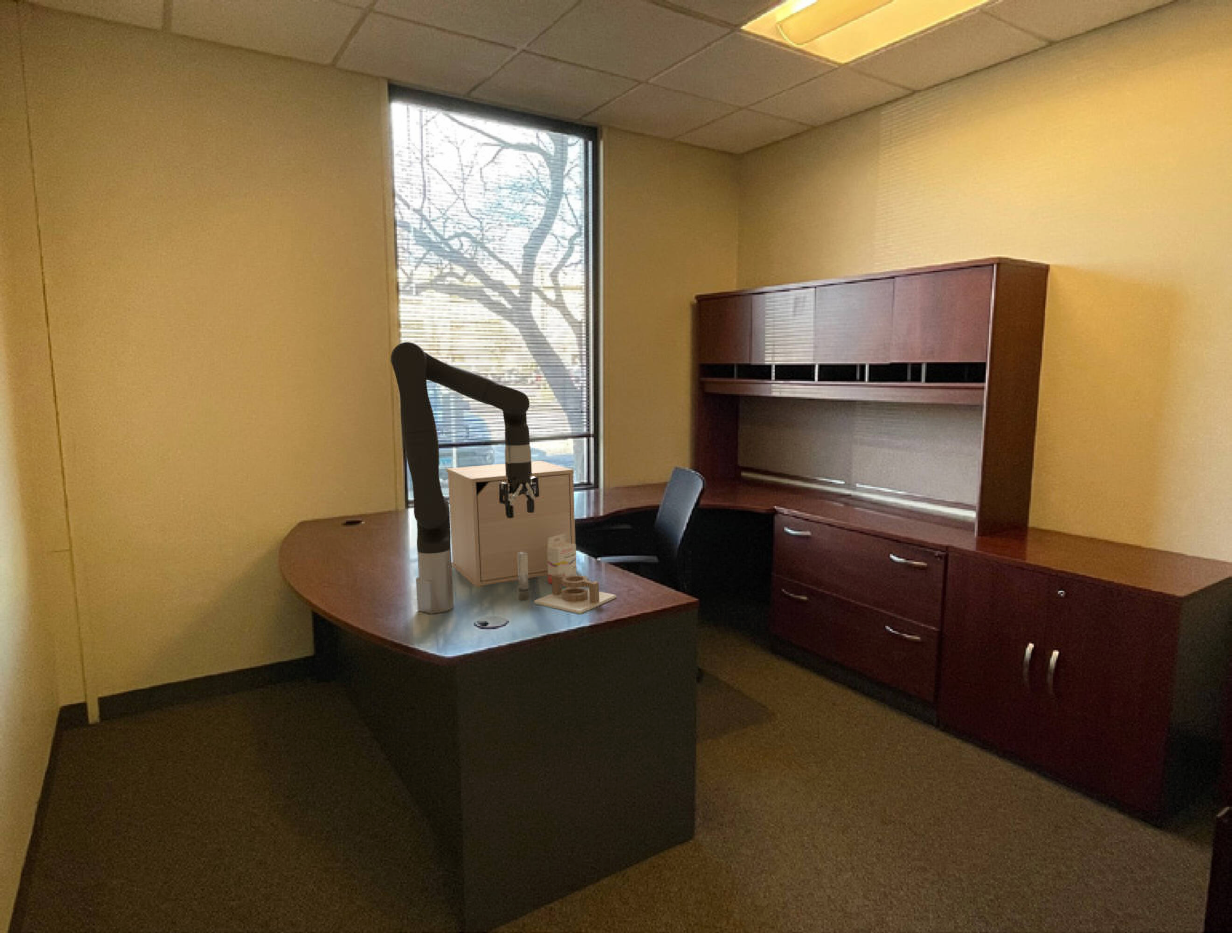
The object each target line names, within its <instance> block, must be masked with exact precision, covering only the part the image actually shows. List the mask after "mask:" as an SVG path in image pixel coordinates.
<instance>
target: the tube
mask: <svg viewBox="0 0 1232 933" xmlns="http://www.w3.org/2000/svg"><path fill="white" fill-rule="evenodd" d="M517 563H518V580H517V582H518V583H517V586H518V600H519V601H528V600H530V586H529V578H528V555H527V552H525V551H521V552H517Z"/></svg>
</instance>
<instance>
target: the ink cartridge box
mask: <svg viewBox="0 0 1232 933" xmlns="http://www.w3.org/2000/svg"><path fill="white" fill-rule="evenodd" d="M556 538H558V539H559V538H560V540H558V541H554V540H555V539H556ZM565 539H566V534H561V535H557V536H553V537H549V538H548V547H547V554H548V575H547V583H549V584H552V575H555V574H559V575H563V576H572V575H577V570H576V567H577V544H576V543H575V544H572V543H566V542H565Z"/></svg>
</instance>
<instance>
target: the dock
mask: <svg viewBox="0 0 1232 933" xmlns="http://www.w3.org/2000/svg"><path fill="white" fill-rule="evenodd" d="M551 587H552V589H551V590H552V592H551V593H550V594H547V595H545V596H543V597H539V598H536V599H535V600H533V601H534V602H533V603H534V604H536V605H540V606H544V607H549V608H554V609H558V610H562V611H565V612H569V613H573V614H578V615H581V614H583V613H585V612H587V611H589V610H591V609H594V608H597V607H598V606H600V605H603V604H605V603H607V602H610V601H612V600H614V599H617V594H613V593H607V592H604V591H600V583H599V581H594V580H593V581H592V580H589V577H587V576H586V575H582V574H580V575H577V574H576V575H572V576H563V575H559V574H555V575H552V583H551ZM563 587H565V588H563Z"/></svg>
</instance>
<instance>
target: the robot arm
mask: <svg viewBox="0 0 1232 933" xmlns="http://www.w3.org/2000/svg"><path fill="white" fill-rule="evenodd" d="M390 363H391V366H392V369H393V372H394V376H395V380H396V383H397V388H398V392H399V399H400V400H399V401H400V426H401V435H402V441H403V446H404V452H405V455H406V461H407V466H408V469H409V473H410V478H411V483H412V494H413V495H412V496H413V497H412V498H413V516H414V519H415V520H416V529H417V530H416V531H417V532H416V535H417V536H416V552H417V568H418V570H417V571H418V577H416V578H415V586H416V600H417V601H416V602H417V604H416V605H417V611H418V612H423V613H426V614H430V615H434V614H440V613H445V612H448V611H451V610H453V608H454V607H455V606H454V604H455V603H454V602H455V601H454V588H453V587H454V586H453V584H454V583H453V566H452V563H451V562H452V542H451V523H450V504H449V500H448V499H447V498H446V497H445V496H444V494H443V491H442V486H441V481H440V446H439V438H438V431H437V430H438V429H437V424H436V419H435V416H434V415H435V414H434V412H433V411H434V410H433V407H432V405H431V400H430V397H429V392H428V384H427V381H429V382H432V383H435V384H438V385H441V386H443V387H445V388H447V389H450V390H451V391H453V392H456V393H458V394H460V395H462V396H465V397H467V398H469V399H472V400H474V401H477V402H479V403H482V404H485V405H489V406H493V408H494V407H495V408H496V409H498V410H500V411H502V416H503V422H504V444H505V447H504V464H505V470H506V476H507V478H508V482H507V483H500V484H499V503H501V504H505V509H506V516H507V518H513V517H514V510H513V502H514V500H515V499H516V498H517V496H519V495H521V494H524V495H525V497H526V498H527V499H528V500H527V512H528V513H533V512H534V509H535V507H534V500H535V498H536V497H539V483H538V478H537V477H530V476H531V475H532V465H531V462H532V450H531V444H530V441H531V440H530V429H529V428H530V427H529V425H528V422H527V421H528V420H527V419H528V418H527V412H528V411H529V408H530V399H529V397H528V395H527V394H526V393H525V392H524V391H520V390H518V389H515V388H512V387H510V386H506V385H503V384H500V383H499V382H496V381H495V380H493V379H491V378H489V377H486V376H483V375H481V374H478V373H475V372H473V371H470V370H468V369H464V368H460V367H458V366H454V365H453V364H452V365H451V364H449V363H447V362H444V361H442V360H440V359H439V358H436V357H434V356H432V355H430V354H429V353H427V352H426V351H424V349H423V348H422V347H421V346H420V345H419V344H416V343H415V342H413V341H404V342H401V343H399V344H397V345H396V346H395V347H394V348H393V349H392V351H391V354H390ZM534 489H535V493H534ZM511 493H512V494H511ZM503 495H504V500H503ZM510 498H511V499H510ZM509 500H510V501H509Z"/></svg>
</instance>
